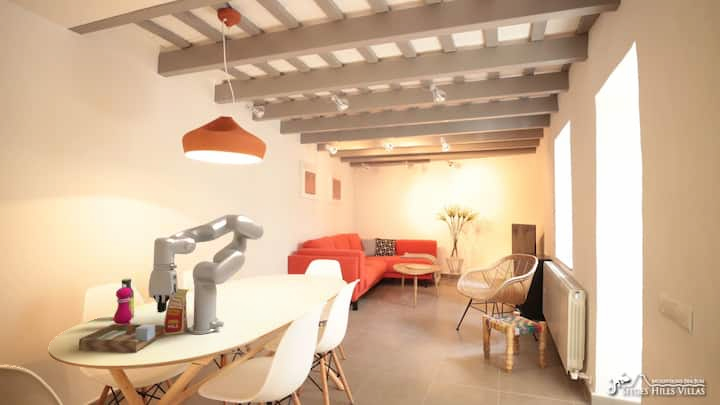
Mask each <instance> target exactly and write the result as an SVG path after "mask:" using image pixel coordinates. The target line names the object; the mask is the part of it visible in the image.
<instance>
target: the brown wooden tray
mask: <svg viewBox="0 0 720 405" xmlns="http://www.w3.org/2000/svg"><path fill="white" fill-rule="evenodd" d="M141 325H142V324H134V323H133V324H132V323H131V324H116V323H112V324H109V325H108V326H105V327H103V328H101V329H98V330H96V331H93V332H92V333H89V334H87V335H85V336H83V337H81V338H79V339H78V351H79V352H99V353H100V352H104V353H105V352H106V353H107V352H109V353H132V354H133V353H135V354H136V353H138V352H139V351H141V350H143V349H144V348H146V347H148V346H149V345H151V344H153V343H154V342H156V341H158V340H159V339H160V338H162V337H164V336H165V335H164V324H154V325H155V337H153V338H152V339H150V340H148V341H138V340H135V334H136V328H137V327H139V326H141Z"/></svg>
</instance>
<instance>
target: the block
mask: <svg viewBox="0 0 720 405" xmlns="http://www.w3.org/2000/svg"><path fill="white" fill-rule="evenodd" d="M140 325H141V326H139V327H137V328H136V334H135V340H138V341H148V340H150V339H152V338H153V337H155V325H156V324H153V323H152V324H149V323H148V324H147V323H144V324H140Z"/></svg>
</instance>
